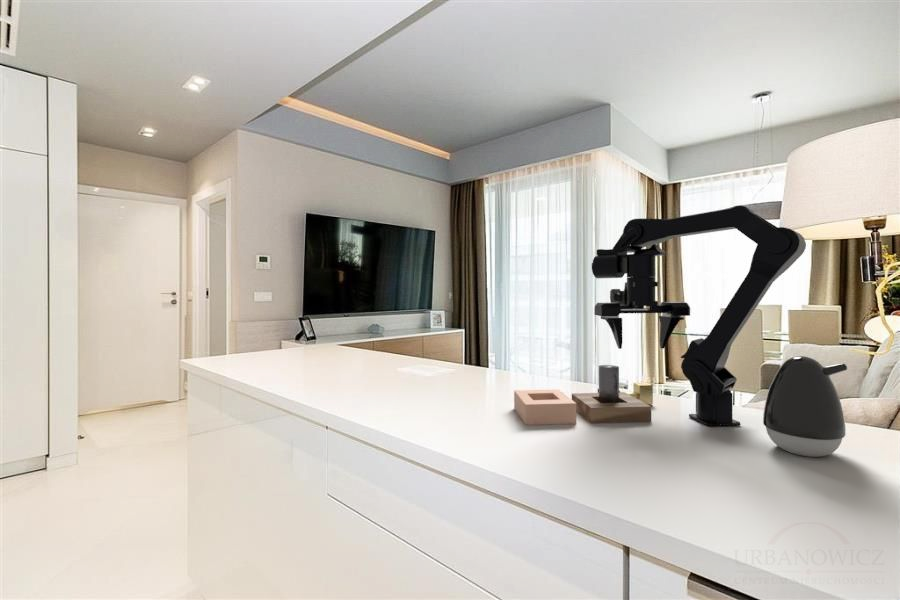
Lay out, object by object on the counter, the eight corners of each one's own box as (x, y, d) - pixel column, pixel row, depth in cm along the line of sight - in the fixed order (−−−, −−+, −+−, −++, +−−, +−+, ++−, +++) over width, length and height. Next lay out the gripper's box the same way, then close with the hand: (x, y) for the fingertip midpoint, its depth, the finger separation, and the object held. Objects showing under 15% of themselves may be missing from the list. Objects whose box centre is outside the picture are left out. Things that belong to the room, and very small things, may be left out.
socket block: (651, 421, 85) (651, 404, 85) (591, 423, 85) (591, 406, 85) (619, 402, 100) (618, 388, 100) (567, 403, 100) (567, 389, 100)
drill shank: (622, 416, 89) (622, 368, 89) (603, 416, 89) (603, 368, 89) (614, 410, 93) (614, 364, 93) (596, 411, 93) (595, 365, 93)
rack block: (576, 423, 85) (576, 403, 85) (525, 424, 84) (525, 404, 84) (558, 407, 97) (558, 389, 97) (514, 408, 96) (514, 390, 96)
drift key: (652, 404, 97) (652, 385, 97) (604, 405, 97) (604, 386, 97) (646, 400, 100) (646, 382, 100) (599, 401, 100) (599, 383, 100)
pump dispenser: (855, 469, 62) (856, 363, 62) (765, 455, 67) (766, 358, 67) (838, 446, 71) (839, 354, 70) (760, 436, 76) (760, 350, 76)
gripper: (666, 277, 102) (666, 343, 103) (587, 278, 103) (587, 344, 103) (691, 276, 91) (691, 350, 92) (602, 277, 92) (602, 350, 92)
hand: (640, 348), depth 95 cm, fingers open, 9 cm apart
